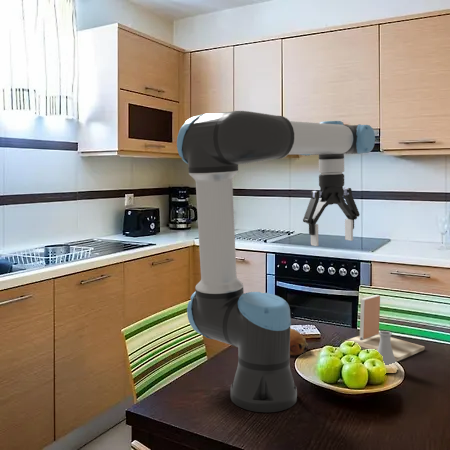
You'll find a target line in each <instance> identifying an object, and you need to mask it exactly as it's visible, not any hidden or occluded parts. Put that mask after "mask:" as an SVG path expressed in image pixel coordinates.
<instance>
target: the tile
mask: <svg viewBox="0 0 450 450" xmlns="http://www.w3.org/2000/svg"><path fill="white" fill-rule="evenodd" d="M380 308H381V295H379V294H375V295H371V296H366V297H364V298H360V311H359V312H360V313H359V314H360V315H359V316H360V317H359V318H360V320H359V336H360V340H364V339H367V338H370V337H373V336H375V335H378V334H379V332H380V313H381V311H380Z"/></svg>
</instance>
